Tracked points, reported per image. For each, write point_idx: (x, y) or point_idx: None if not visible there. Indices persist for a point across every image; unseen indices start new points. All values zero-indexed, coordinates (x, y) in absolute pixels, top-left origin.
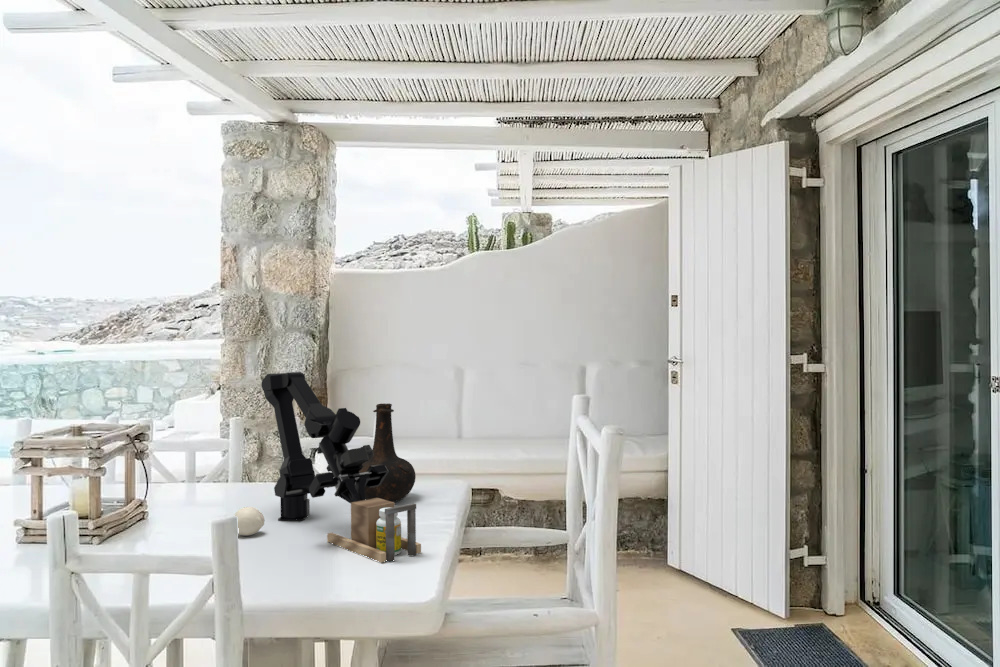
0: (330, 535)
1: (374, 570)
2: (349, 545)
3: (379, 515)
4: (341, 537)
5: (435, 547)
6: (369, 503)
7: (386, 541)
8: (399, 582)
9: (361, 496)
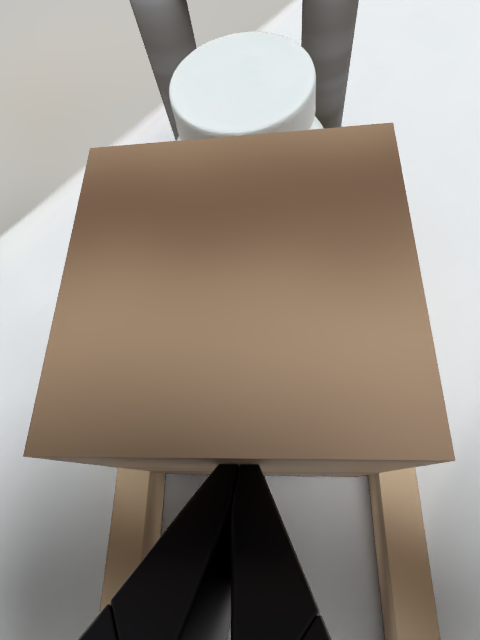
0: None
1: (423, 134)
2: None
3: (313, 120)
4: (409, 553)
5: None
6: (285, 253)
7: (342, 115)
8: (408, 22)
9: (196, 578)
